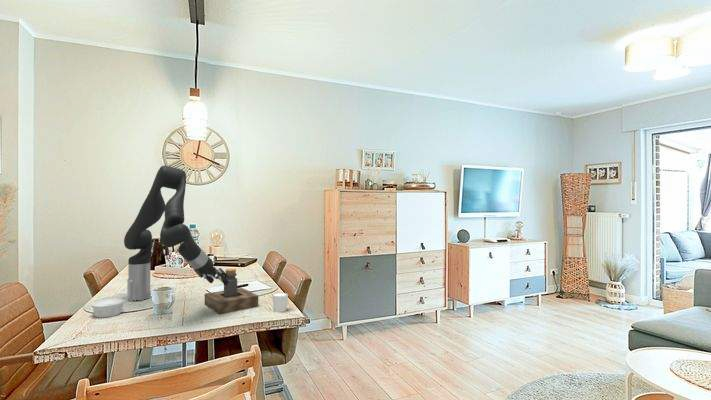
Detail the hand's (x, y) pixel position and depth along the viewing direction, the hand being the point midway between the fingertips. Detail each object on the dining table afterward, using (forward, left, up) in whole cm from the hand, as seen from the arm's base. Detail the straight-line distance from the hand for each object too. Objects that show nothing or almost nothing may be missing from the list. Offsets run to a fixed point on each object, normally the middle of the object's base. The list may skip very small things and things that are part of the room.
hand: (219, 282), depth 165 cm
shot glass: (+21, -17, -12) cm, 29 cm away
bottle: (+6, +3, -11) cm, 13 cm away
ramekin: (-38, +23, -12) cm, 47 cm away
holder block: (+7, +3, -12) cm, 14 cm away
